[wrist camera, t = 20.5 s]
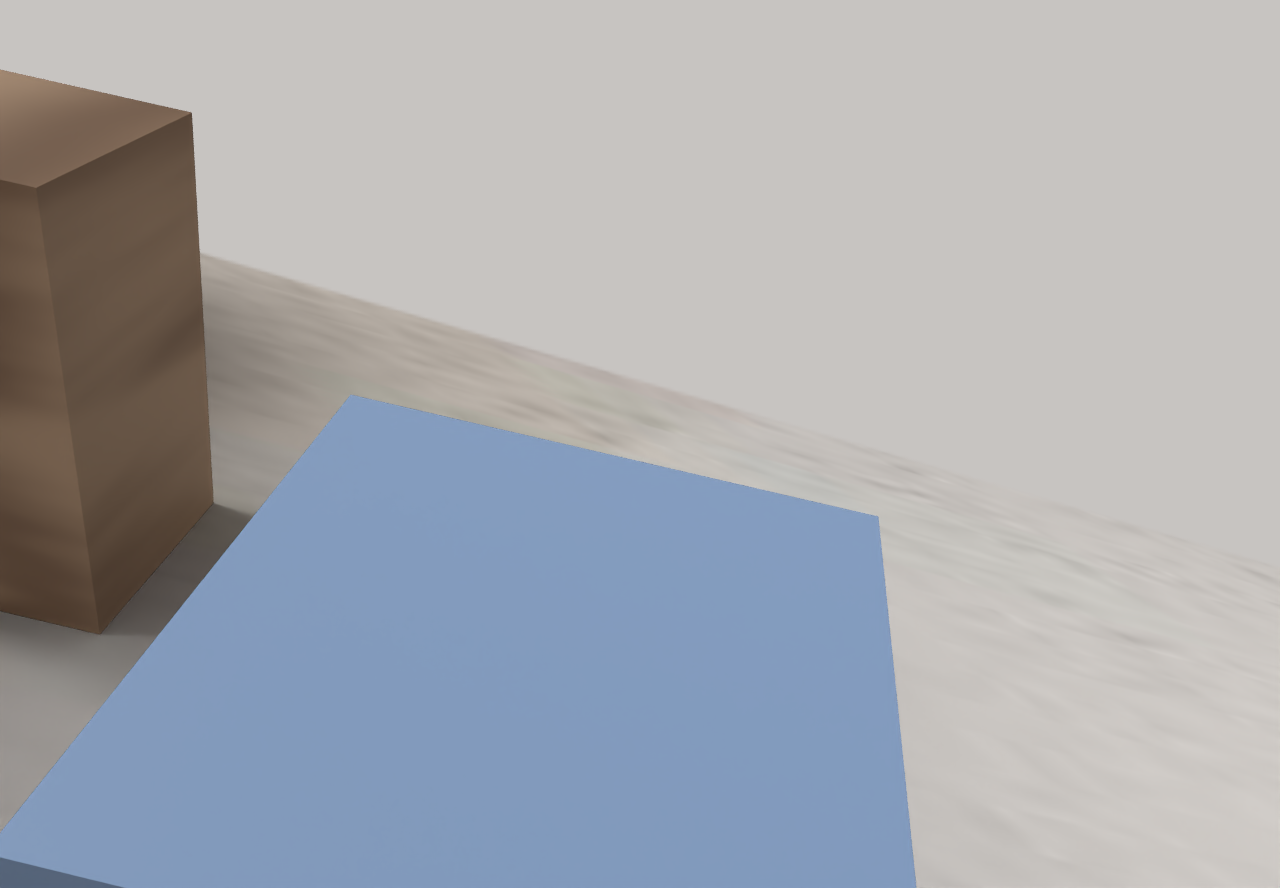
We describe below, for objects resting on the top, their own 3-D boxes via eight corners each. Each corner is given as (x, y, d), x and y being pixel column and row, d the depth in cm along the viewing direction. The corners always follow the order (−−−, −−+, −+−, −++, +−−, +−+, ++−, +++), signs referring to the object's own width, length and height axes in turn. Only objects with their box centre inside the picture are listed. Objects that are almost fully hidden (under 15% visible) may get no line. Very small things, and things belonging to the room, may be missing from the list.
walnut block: (-124, 581, 22) (-258, 121, 17) (25, 459, 26) (-45, 59, 21) (99, 634, 22) (36, 187, 17) (213, 502, 26) (192, 112, 21)
